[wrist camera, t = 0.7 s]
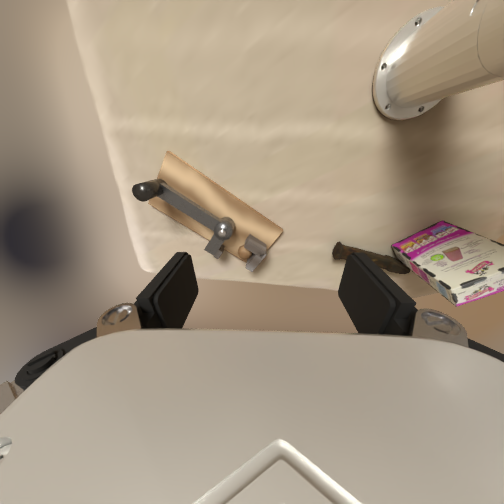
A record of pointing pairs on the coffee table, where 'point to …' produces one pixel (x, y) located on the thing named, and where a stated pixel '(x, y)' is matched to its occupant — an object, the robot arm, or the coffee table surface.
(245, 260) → the tan wooden panel
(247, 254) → the walnut
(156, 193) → the lever
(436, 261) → the candy bar box
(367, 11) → the coffee table surface
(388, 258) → the hand tool
